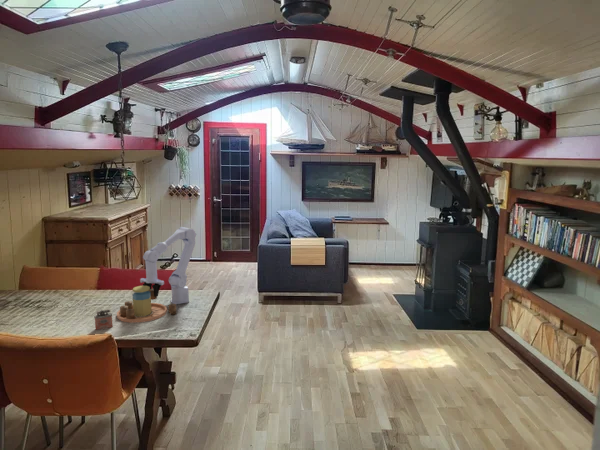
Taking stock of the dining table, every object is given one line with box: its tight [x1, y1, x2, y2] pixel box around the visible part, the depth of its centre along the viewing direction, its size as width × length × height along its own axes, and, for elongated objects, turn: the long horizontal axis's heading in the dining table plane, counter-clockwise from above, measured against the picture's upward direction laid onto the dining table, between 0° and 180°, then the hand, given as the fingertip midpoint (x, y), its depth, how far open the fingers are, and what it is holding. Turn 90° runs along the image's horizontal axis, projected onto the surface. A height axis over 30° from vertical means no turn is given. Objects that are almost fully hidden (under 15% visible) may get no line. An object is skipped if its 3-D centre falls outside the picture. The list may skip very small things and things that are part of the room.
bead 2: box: [167, 303, 177, 316], centre depth 235 cm, size 4×4×5 cm
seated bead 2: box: [124, 300, 133, 309], centre depth 236 cm, size 4×4×5 cm
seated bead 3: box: [126, 309, 136, 319], centre depth 225 cm, size 4×4×5 cm
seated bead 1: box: [119, 305, 128, 317], centre depth 230 cm, size 4×4×5 cm
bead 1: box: [149, 288, 158, 301], centre depth 241 cm, size 4×4×5 cm
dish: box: [116, 302, 168, 324], centre depth 234 cm, size 25×25×2 cm
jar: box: [132, 285, 153, 317], centre depth 233 cm, size 9×9×15 cm
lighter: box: [94, 308, 114, 331], centre depth 214 cm, size 8×3×10 cm, turn 118°
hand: (152, 295), depth 241 cm, fingers closed on bead 1, 4 cm apart
